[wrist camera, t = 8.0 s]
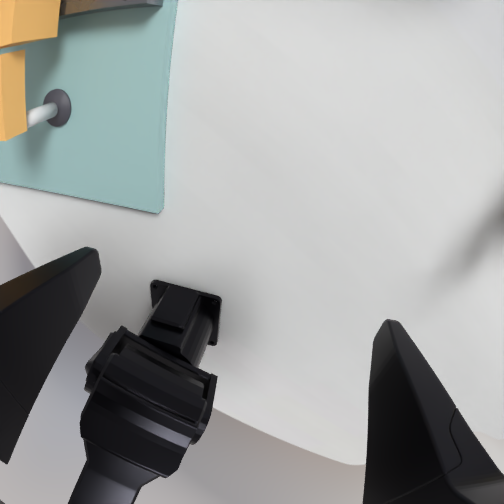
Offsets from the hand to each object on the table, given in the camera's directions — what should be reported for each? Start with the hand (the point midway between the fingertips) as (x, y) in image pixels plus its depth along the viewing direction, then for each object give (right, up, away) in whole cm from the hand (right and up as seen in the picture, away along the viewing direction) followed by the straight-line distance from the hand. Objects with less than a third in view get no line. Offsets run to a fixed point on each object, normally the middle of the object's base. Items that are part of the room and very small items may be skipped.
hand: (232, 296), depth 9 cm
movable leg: (-13, +16, +6) cm, 21 cm away
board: (-16, +15, +10) cm, 24 cm away
